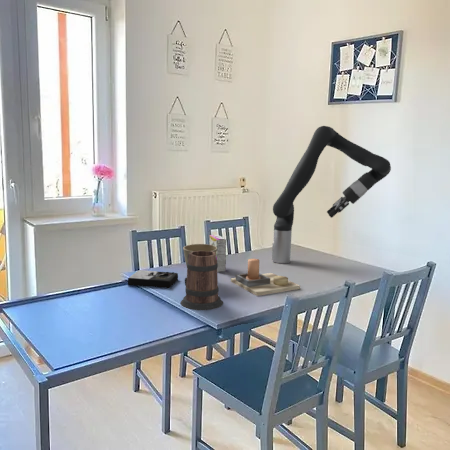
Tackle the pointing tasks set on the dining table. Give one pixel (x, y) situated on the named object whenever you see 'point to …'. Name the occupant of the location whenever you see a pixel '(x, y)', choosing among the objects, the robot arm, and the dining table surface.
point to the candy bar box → (219, 251)
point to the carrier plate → (265, 284)
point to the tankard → (202, 282)
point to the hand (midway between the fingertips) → (328, 214)
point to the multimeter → (153, 279)
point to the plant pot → (197, 249)
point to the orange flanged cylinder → (253, 269)
